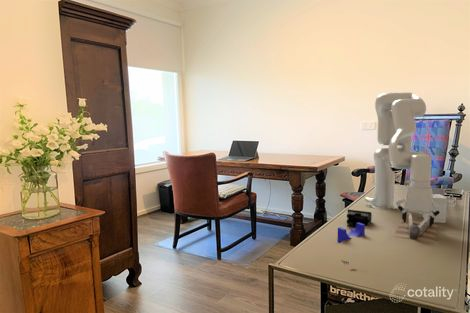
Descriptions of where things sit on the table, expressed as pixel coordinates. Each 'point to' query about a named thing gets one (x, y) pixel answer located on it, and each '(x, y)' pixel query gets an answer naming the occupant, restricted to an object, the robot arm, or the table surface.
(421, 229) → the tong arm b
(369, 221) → the end cap
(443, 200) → the supplement box
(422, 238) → the tong board
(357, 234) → the blue cradle stand
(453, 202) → the eyeglasses
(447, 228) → the table surface
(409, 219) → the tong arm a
